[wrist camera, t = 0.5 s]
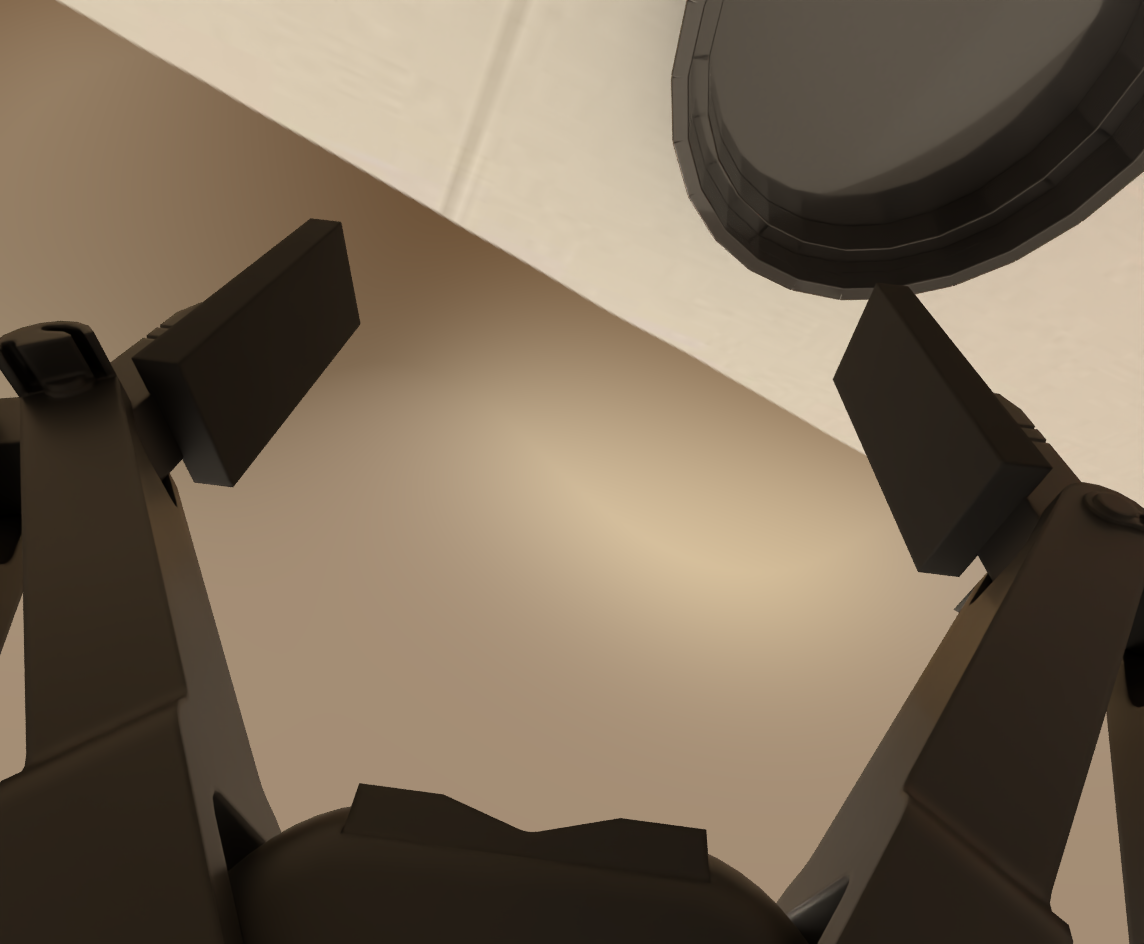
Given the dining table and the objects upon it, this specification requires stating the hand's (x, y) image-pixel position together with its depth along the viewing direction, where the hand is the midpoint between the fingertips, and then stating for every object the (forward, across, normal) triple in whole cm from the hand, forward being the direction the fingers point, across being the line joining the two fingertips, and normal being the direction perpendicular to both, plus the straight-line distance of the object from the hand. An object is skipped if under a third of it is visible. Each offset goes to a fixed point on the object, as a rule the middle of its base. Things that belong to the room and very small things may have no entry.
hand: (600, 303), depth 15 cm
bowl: (+23, +13, +5) cm, 27 cm away
